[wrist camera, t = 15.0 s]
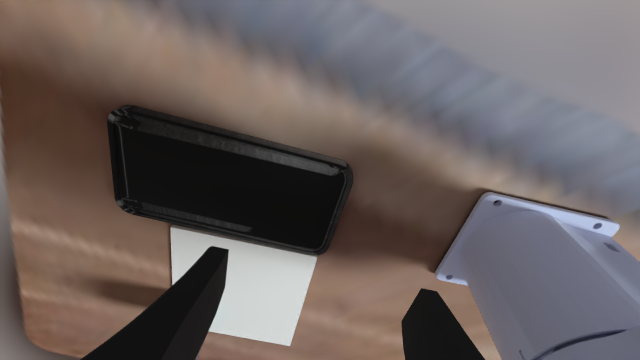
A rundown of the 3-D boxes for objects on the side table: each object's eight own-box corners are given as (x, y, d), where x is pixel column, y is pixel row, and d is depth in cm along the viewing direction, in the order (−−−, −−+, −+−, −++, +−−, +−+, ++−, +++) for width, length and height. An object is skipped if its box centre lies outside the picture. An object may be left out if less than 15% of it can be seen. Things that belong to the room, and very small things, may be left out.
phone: (105, 103, 17) (358, 169, 19) (117, 98, 18) (357, 161, 20) (116, 211, 21) (324, 259, 22) (126, 202, 22) (324, 249, 23)
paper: (317, 254, 23) (317, 257, 23) (290, 343, 29) (289, 346, 29) (172, 224, 22) (170, 227, 22) (175, 321, 29) (173, 324, 28)
